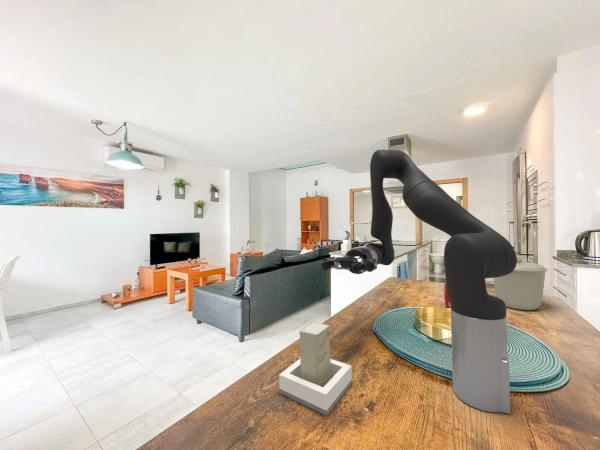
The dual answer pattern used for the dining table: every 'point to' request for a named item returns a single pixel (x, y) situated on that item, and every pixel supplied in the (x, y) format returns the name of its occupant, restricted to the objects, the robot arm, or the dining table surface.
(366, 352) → the dining table surface
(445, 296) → the soda can
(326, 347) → the skincare box
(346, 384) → the socket block
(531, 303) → the canister
